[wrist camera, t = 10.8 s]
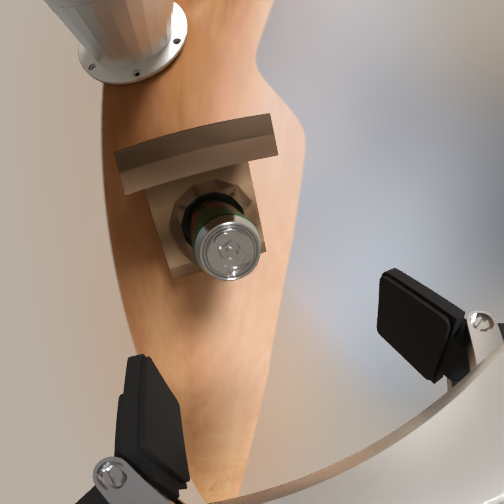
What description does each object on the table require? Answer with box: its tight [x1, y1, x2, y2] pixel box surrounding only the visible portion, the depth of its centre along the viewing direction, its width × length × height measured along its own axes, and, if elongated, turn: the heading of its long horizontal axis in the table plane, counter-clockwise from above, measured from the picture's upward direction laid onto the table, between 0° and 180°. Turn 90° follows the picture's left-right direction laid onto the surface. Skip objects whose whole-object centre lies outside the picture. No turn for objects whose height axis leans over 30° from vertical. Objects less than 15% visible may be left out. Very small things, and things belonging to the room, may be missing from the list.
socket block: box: [114, 113, 278, 279], centre depth 24 cm, size 14×10×12 cm
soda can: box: [188, 196, 262, 281], centre depth 24 cm, size 5×5×12 cm
